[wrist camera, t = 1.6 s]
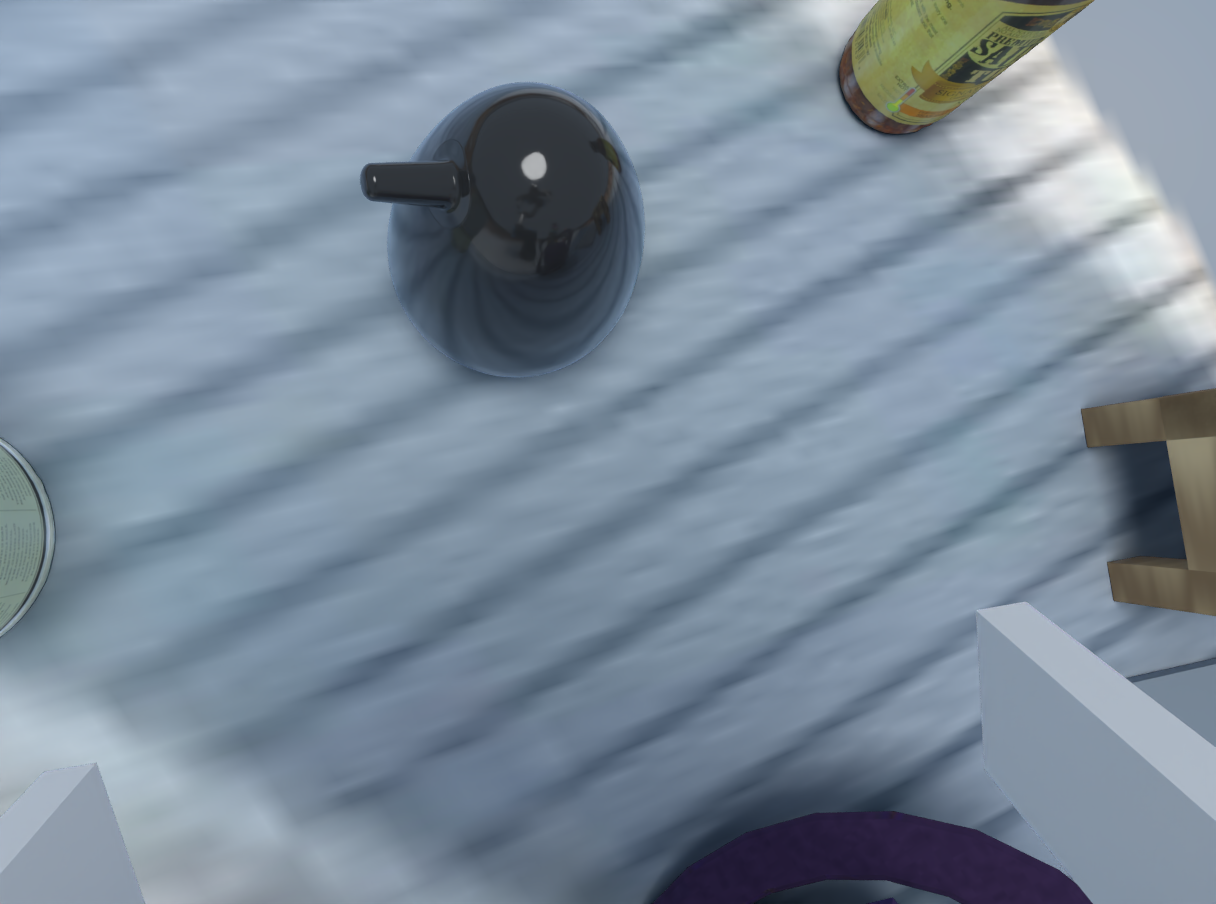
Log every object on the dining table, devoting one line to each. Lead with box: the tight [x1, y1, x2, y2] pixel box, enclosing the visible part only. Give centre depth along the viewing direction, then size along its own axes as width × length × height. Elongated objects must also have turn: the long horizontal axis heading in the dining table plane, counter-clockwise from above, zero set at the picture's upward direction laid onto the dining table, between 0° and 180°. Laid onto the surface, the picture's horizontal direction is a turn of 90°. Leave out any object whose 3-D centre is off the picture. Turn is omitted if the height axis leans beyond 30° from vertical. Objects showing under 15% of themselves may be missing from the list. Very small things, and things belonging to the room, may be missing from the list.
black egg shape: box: [360, 82, 645, 378], centre depth 32 cm, size 10×10×15 cm
